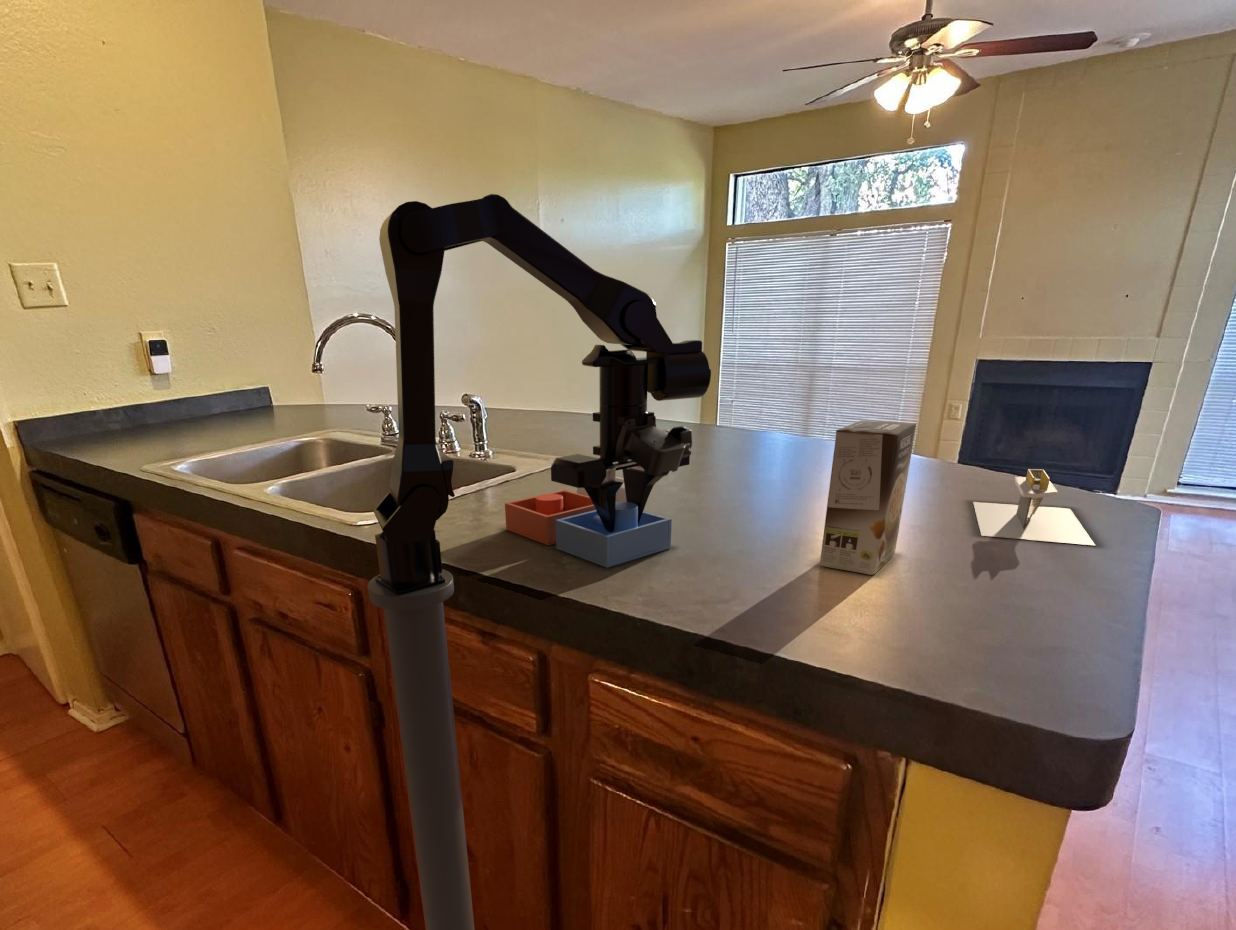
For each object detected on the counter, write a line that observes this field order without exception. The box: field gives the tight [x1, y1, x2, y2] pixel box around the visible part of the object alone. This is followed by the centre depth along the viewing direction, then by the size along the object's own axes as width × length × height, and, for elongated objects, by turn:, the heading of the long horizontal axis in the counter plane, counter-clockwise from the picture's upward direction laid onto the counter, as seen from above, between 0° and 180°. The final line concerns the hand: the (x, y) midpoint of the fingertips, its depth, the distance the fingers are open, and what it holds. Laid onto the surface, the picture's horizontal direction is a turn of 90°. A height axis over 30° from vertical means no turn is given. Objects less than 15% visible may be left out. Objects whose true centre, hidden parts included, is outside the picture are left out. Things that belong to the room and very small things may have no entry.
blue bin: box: [555, 510, 673, 569], centre depth 91 cm, size 11×10×4 cm
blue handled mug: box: [592, 502, 638, 535], centre depth 90 cm, size 8×4×4 cm, turn 36°
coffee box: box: [819, 420, 917, 576], centre depth 81 cm, size 9×6×16 cm
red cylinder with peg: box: [535, 493, 563, 516], centre depth 100 cm, size 8×4×4 cm, turn 36°
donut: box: [576, 476, 627, 502], centre depth 113 cm, size 10×4×10 cm
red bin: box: [504, 489, 596, 546], centre depth 100 cm, size 11×10×4 cm
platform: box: [972, 468, 1097, 546], centre depth 94 cm, size 12×18×6 cm, turn 152°
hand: (622, 528), depth 89 cm, fingers closed on blue handled mug, 4 cm apart
